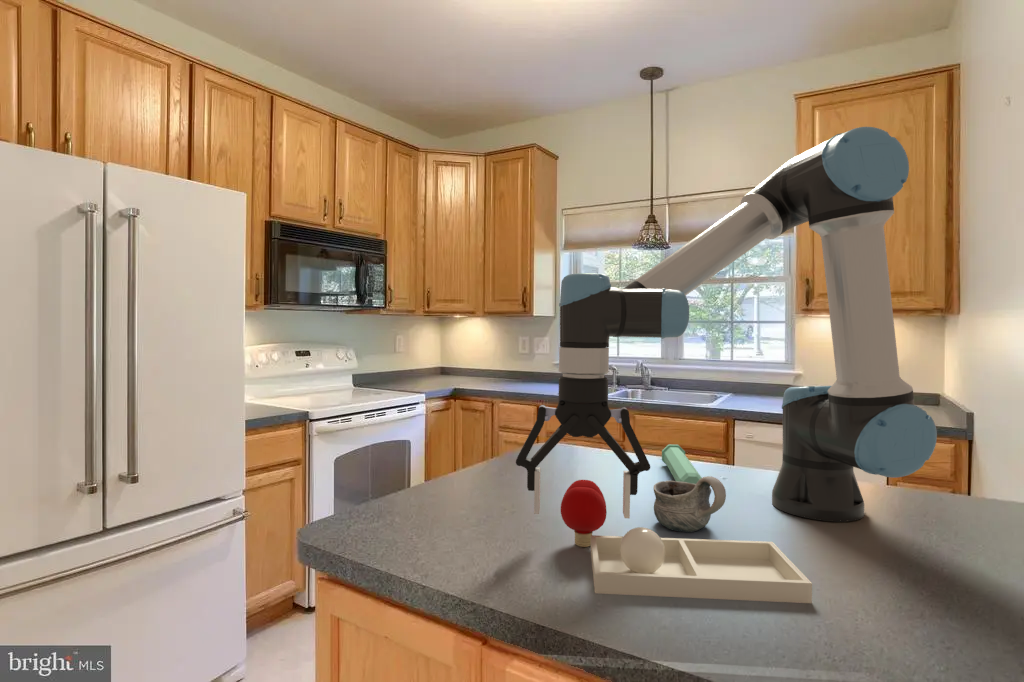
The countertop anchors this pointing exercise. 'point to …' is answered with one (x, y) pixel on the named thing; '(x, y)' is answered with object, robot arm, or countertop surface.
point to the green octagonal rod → (679, 464)
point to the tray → (703, 571)
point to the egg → (642, 550)
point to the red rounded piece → (583, 510)
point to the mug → (687, 503)
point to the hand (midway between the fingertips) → (581, 513)
